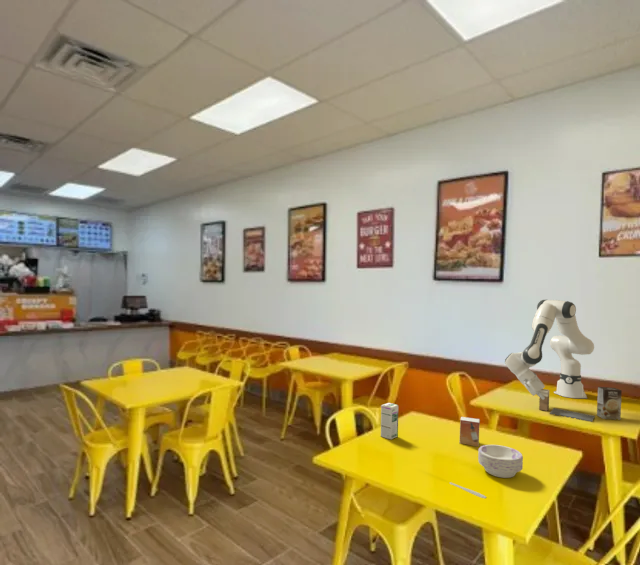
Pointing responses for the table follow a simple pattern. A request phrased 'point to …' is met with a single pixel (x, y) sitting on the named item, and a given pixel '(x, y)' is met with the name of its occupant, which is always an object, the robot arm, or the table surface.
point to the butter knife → (470, 491)
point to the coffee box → (609, 403)
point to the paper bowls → (500, 460)
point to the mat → (572, 414)
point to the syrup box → (389, 420)
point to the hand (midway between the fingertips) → (545, 397)
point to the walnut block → (544, 403)
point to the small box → (469, 431)
